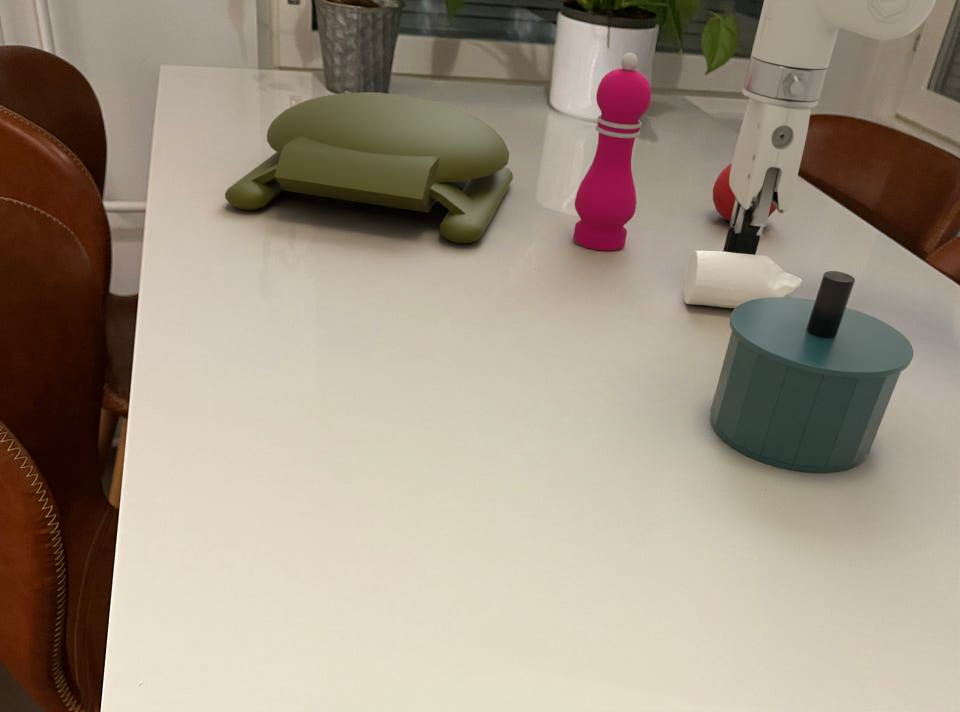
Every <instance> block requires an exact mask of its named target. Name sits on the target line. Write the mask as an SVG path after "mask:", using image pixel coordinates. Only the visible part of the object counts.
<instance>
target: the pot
mask: <svg viewBox="0 0 960 712" xmlns="http://www.w3.org/2000/svg"><path fill="white" fill-rule="evenodd" d="M901 372H902V371H901ZM901 372H899V373H896V374H894V375H890V376H885V377H879V378H844V377H836V376H828V375H823V374H817V373H813V372H809V371H805V370H801V369H797V368H794V367H791V366H788V365H785V364H782V363H779V362H777V361H774V360H772V359H770V358H768V357H765V356H763V355H761V354H759V353H758V352H756V351H754V350H752V349H751V348H749V347H748V346H746V345H745V344H744V343H743V342H741V341H740V340H739V339H738V338H737V337H736V336H735V335H734V333H733V331H732V330H731V332H730V337H729V341H728V344H727V347H726V351H725V356H724V358H723V363H722V366H721V370H720V373H719V377H718V381H717V384H716V389H715V392H714V396H713V400H712V404H711V407H710V411H709V413H710V415H709V416H710V418H709V421H710V425H711V427H712V428H713V431H714V433H715V434H716V435H717V436H718V437H719V438H720V439H721V440H722V441H723V442H725V443H726V445H728V446H730V447H731V448H733V449H734V450H735V451H737V452H739V453H741V454H743V455H745V456H747V457H749V458H751V459H753V460H756V461H759V462H760V463H764V464H766V465H770V466H773V467H777V468H781V469H786V470H790V471H794V472H795V471H796V472H803V473H820V474H821V473H823V474H826V473H827V474H828V473H836V472H842V471H846V470H850V469H853V468H854V467H856V466H859V465H860V464H861V463H862V462H863V461H864V460H865V459H866V458H867V457H868V455H870V451H871V450H872V447H873V443H874V441H875V439H876V436H877V433H878V431H879V429H880V426H881V424H882V420H883V418H884V415H885V414H886V410H887V408H888V406H889V403H890V400H891V398H892V395H893V393H894V390H895V388H896V385H897V383H898V380H899V378H900V375H901Z"/></svg>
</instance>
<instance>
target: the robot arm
mask: <svg viewBox="0 0 960 712" xmlns="http://www.w3.org/2000/svg"><path fill="white" fill-rule="evenodd" d="M936 2H937V0H763V4H762V8H761V13H760V16H759V21H758V26H757V30H756V33H755V37H754V42H753V45H752V50H751V54H750V57H749V62H748V67H747V71H746V75H745V78H744V83H743V87H742V92H741V93H742V95H743V96H744V97H746V98H748V103H747V105H746V108H745V113H744V116H743V119H742V122H741V126H740V129H739V134H738V138H737V141H736V145H735V149H734V153H733V157H732V161H731V164H732V166H731V171H730V177H729V185H730V188H731V189H732V191H733V193H734V195H735V196H736V198H735V203H734V208H733V212H732V217H731V222H730V221H729V223H730V224H729V225H730V226H729V227H728V230H727V234H726V237H725V242H724V244H723V245H724V246H723V249H722V251H723V252H731V253H741V254H752V255H757V251H758V247H759V243H760V240H761V236H762V233H763V230H764V228H766V226H767V225H768V220H769V217H770V216H769V211H770V206H771V202H772V203H773V205H774V206H775V207H776V210H777V212H778V213H779V214H785V213H787V212H788V211H789V209H790V207H791V203H792V200H793V196H794V191H795V188H796V184H797V179H798V175H799V171H800V167H801V164H802V158H803V154H804V150H805V145H806V141H807V135H808V131H809V125H810V118H811V110H812V108H816V107H817V106H818V105H819V101H820V96H821V93H822V91H823V86H824V83H825V79H826V75H827V72H828V69H829V65H830V62H831V58H832V56H833V52H834V48H835V44H836V41H837V38H838V34H839V30H840V29H842V30H845V31H849V32H851V33H853V34H857V35H860V36H863V37H866V38H868V39H871V40H875V41H877V40H878V41H894V40H897V39H901V38H904V37H906V36H908V35H909V34H912V33H913V32H914V31H915V30H917V29H918V28H919V27H920V26H921V25H922V24H923V23H924V22H925V21H926V20H927V18H928V17H929V16H930V14H931V13H932V11H933V9H934V7H935V5H936ZM768 216H769V217H768Z"/></svg>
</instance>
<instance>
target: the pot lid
mask: <svg viewBox="0 0 960 712" xmlns="http://www.w3.org/2000/svg"><path fill="white" fill-rule="evenodd" d="M855 282H856V279H855V277H854V276H852V275H851V274H848V273H845V272H842V271H837V270H828V271H825V272H824V273H823V275H822V279H821V281H820V285H819V288H818V291H817V294H816V298H815V299H810V298H803V297H802V298H801V297H792V296H784V297H769V298H760V299H754V300H750V301H747V302H745V303H742V304H740V305H739V306H737V307H736V308H733V310H732V312H731V314H730V318H729V326H730V330H731V332H732V331H733V333H734V335H735V336H736V337H737V338H738V339H739V340H740V341H741V342H743V343H744V344H745V345H746V346H748V347H749V348H751V349H752V350H754V351H756V352H758V353H759V354H761V355H763V356H765V357H768V358H770V359H772V360H774V361H777V362H779V363H782V364H785V365H788V366H791V367H794V368H797V369H801V370H805V371H809V372H813V373H817V374H823V375H828V376H836V377H844V378H879V377H885V376H890V375H894V374H896V373H899V372H903V371H904V370H906V369H907V368H908V367H909V366H910V365H911V362H912V361H913V358H914V347H913V345H912V344H911V341H910V340H909V339H907V337H906V335H904V334H903V333H902V332H900V331H899V330H897V329H896V328H895V327H894V326H892V325H890V324H888V323H887V322H885V321H882V320H881V319H879V318H877V317H875V316H872V315H870V314H868V313H865V312H863V311H859V310H857V309H853V308H851V307H847V305H848V302H849V300H850V297H851V293H852V290H853V288H854V285H855Z"/></svg>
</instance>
